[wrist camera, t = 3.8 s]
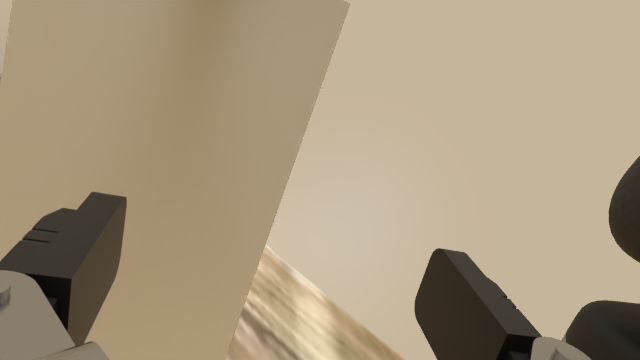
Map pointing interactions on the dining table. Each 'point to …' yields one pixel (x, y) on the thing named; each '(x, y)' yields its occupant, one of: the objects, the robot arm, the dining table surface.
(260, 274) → the dining table surface
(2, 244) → the tall beige cuboid
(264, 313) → the dining table surface
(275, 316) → the dining table surface
